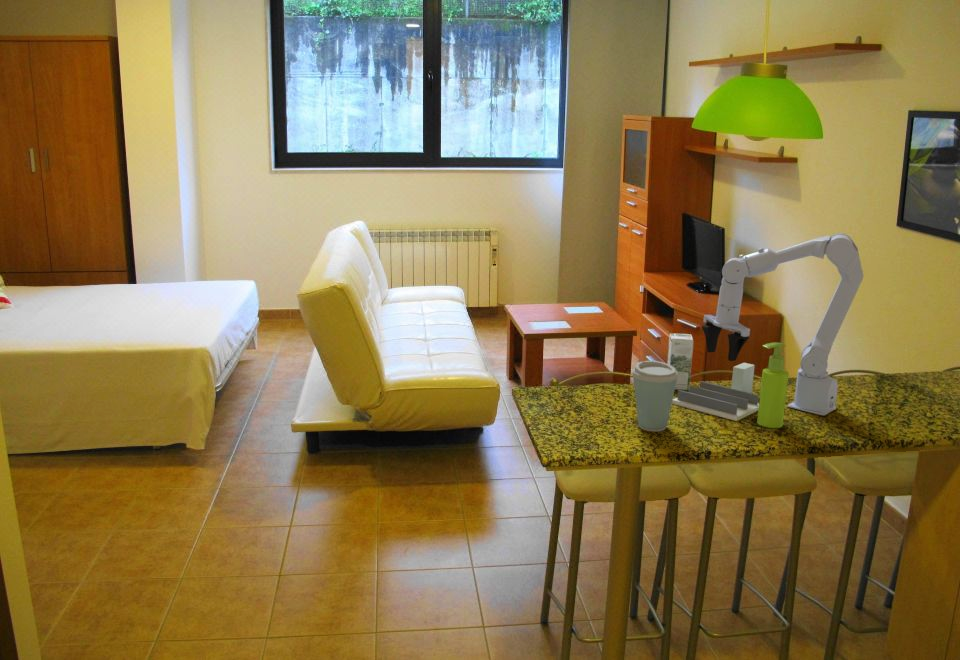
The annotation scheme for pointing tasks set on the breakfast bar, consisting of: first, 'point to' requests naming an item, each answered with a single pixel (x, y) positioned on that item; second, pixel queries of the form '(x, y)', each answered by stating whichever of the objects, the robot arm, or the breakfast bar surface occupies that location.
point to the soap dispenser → (773, 389)
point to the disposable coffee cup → (654, 393)
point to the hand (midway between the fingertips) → (721, 356)
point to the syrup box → (681, 358)
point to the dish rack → (718, 401)
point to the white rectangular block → (743, 377)
